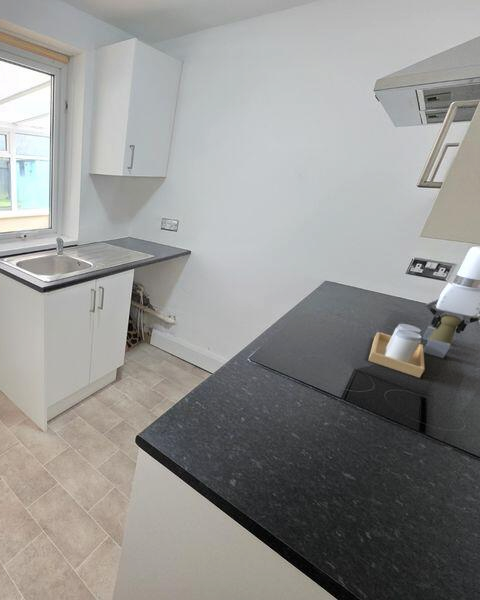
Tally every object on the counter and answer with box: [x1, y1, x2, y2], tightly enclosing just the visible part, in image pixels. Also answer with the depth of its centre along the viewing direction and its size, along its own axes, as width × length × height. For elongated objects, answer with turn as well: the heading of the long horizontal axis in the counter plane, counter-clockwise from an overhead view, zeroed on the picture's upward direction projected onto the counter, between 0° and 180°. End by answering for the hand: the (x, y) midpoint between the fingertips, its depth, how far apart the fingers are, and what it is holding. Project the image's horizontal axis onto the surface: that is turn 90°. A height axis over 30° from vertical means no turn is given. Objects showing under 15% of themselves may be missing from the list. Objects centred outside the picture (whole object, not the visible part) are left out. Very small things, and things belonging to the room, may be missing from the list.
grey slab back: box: [422, 325, 435, 341], centre depth 122 cm, size 5×3×5 cm, turn 45°
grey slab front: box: [423, 338, 451, 359], centre depth 112 cm, size 5×3×5 cm, turn 45°
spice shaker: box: [384, 323, 422, 353], centre depth 107 cm, size 6×6×11 cm
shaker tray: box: [367, 331, 426, 378], centre depth 109 cm, size 13×23×3 cm, turn 135°
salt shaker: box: [384, 330, 423, 363], centre depth 103 cm, size 6×6×11 cm
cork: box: [426, 314, 462, 346], centre depth 114 cm, size 6×6×11 cm
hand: (445, 328), depth 114 cm, fingers closed on cork, 5 cm apart
